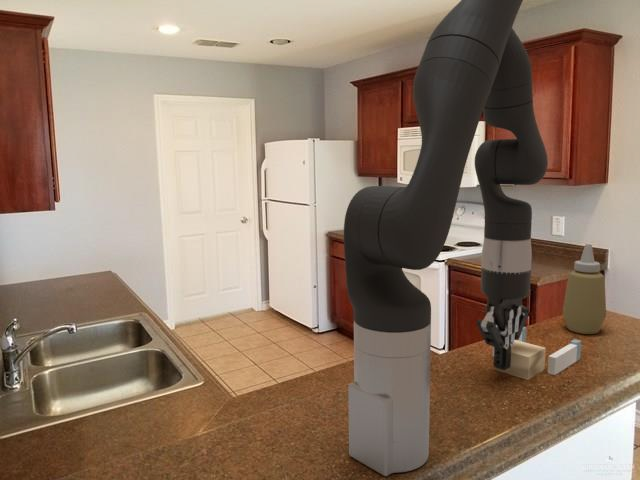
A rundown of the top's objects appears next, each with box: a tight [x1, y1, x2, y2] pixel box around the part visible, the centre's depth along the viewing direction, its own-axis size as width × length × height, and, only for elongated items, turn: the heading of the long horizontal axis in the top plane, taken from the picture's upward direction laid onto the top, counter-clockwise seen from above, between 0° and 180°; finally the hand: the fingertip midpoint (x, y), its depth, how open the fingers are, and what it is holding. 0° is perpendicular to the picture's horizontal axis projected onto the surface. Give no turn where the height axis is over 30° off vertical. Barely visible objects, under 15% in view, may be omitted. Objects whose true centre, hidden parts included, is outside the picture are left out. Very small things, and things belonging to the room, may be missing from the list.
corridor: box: [492, 326, 582, 376], centre depth 94 cm, size 10×11×3 cm
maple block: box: [493, 340, 547, 381], centre depth 89 cm, size 6×6×4 cm
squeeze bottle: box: [562, 244, 607, 335], centre depth 107 cm, size 8×8×18 cm
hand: (502, 367), depth 87 cm, fingers closed
